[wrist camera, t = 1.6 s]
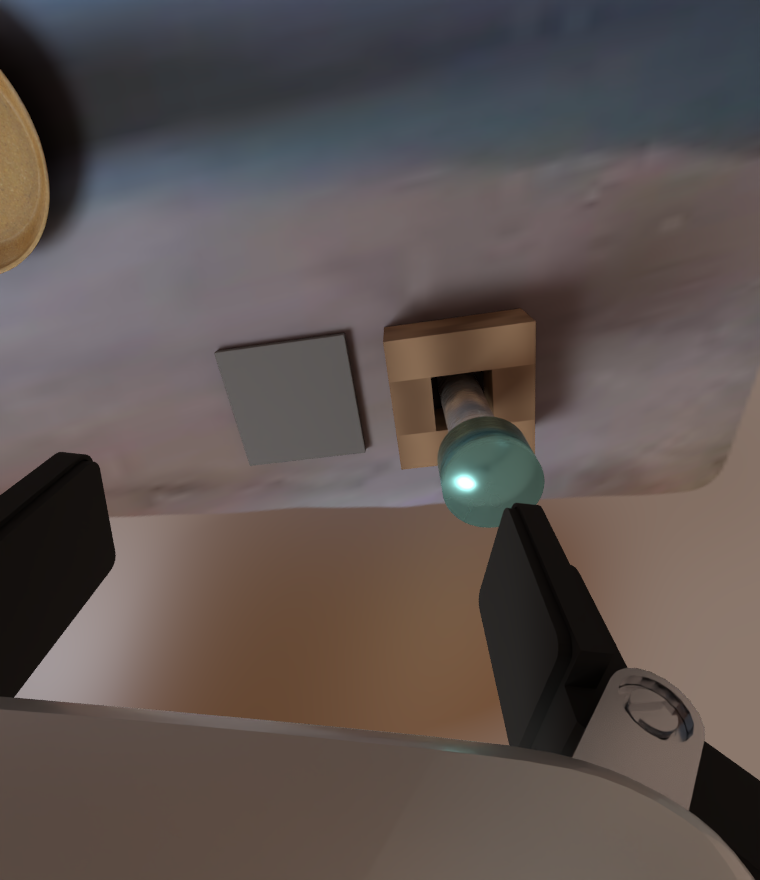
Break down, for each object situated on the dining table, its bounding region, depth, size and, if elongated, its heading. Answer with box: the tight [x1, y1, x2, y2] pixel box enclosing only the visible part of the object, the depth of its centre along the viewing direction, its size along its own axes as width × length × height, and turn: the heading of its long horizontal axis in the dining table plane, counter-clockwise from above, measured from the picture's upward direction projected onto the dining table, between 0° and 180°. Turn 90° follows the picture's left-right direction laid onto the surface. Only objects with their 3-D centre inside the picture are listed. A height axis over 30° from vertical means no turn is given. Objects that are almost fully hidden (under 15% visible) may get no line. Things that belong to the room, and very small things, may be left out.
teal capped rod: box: [437, 372, 544, 527], centre depth 30 cm, size 5×5×15 cm
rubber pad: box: [214, 333, 366, 466], centre depth 37 cm, size 10×10×1 cm
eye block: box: [383, 308, 536, 469], centre depth 34 cm, size 10×10×4 cm
